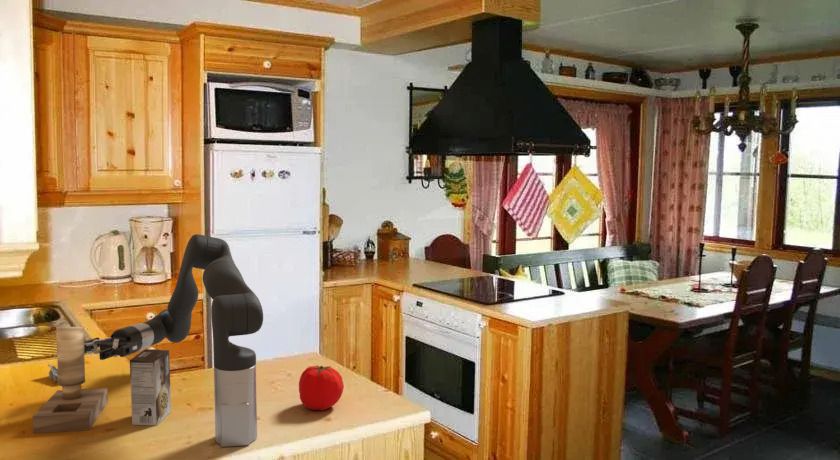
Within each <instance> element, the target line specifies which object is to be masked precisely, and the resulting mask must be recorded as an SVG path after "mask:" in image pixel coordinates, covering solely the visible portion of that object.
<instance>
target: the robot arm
mask: <svg viewBox="0 0 840 460" xmlns="http://www.w3.org/2000/svg"><path fill="white" fill-rule="evenodd" d="M182 256H183V257H182V261H181V264H180V266H179V267H180V268H179V272H178V276H177V280H176V283H175V288H174V290H173V292H172V295H171V296H170V299H169V301H168V304H167V307H166V308H165V309H163V310H161V311H160V312H159V313H157V314H156V315H155V316H154V317H152V318H151V319H149V320H146V321H144V322H141V323H134V324H131V325H128V326H124V327H122V328H118V329H116V330H114V331H113V332H112V333H111V335H110V337H105V338H102V339H101V338H100V337H94V338H91V339H87V340H84V355H86V354H90V353H94V355H95V354H99V360H101V361H104V360H107V359H110V358H112V357H113V358H116V357H118V356H119V357H120V358H124V357H127V356H130V355H132V354H136V353H137V352H140V351H141V352H142V351H143V350H145V349H148V348H149V347H152V346H154V345H157V344H160V343H161V342H163V340H164V339H165V338H166V339H167V340H168V342H171V343H173V344H175V343H176V344H177V343H180V342H182V341H184V340H185V339H186V338H187V336H188V335H189V332H190V331H191V326H192V315H193V314H192V313H193V310H194V308H195V305H197V302H198V298H199V288H198V286H197V283H196V281H195V278H194V274H193V269H194V268H195V269H199V270H204V271H203V273H202V284H203V286H204V289H205V291H206V294H207V295H208V296H209V297H210V299H212V303H211V308H210V315H211V317H210V318H211V328H212V344H213V345H212V346H213V376H214V377H213V380H214V381H213V384H214V386H213V387H214V389H213V390H214V433H215V434H214V435H215V436H214V437H215V442H216V443H217V444H219V446H220V447H221V448H226V447H238V446H239V447H241V446H242V447H243V446H250V445H251V443H252V442H254V441H255V440H257V438H258V407H257V406H258V405H257V403H258V402H257V401H258V400H257V395H258V394H257V354H256V352H255V351H254V350H253V349H252V348H249V347H245V346H243V345H242V346H240V345H237V344H235V343H232V342H231V341H230V340H229V339H230V337H236V336H237V337H238V336H247V335H252V334H256V333H257V332H259V331H260V329H262V326H263V322H264V312H263V311H264V310H263V307H262V304H261V301H260V300H259V297H258V296H257V295H256V293H255V292H254V291H253V290H252V289H251V288H250V287H249V286H248V284H247V283H246V282H245V280H244V278H243V275H242V274H241V273H242V272H241V271H240V270H239V268H238V267H237V265H236V263H235V261H234V259H233V256H232V252H231V248H230V246H229V244H228V243H227V241H226V240H224V239H222V238H219V237H218V238H217V237H213V236H208V235H205V234H198V233H197V234H196V233H195V234H193V235H191V236H190V238H189V240H188V242H187V244H186V247H185V250H184V253H183V255H182ZM98 348H99V349H98Z"/></svg>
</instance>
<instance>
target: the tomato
mask: <svg viewBox="0 0 840 460" xmlns="http://www.w3.org/2000/svg"><path fill="white" fill-rule="evenodd" d="M298 392H299V393H298V394H299V400H300V402H301V404H302V405H303V406H305V407H306V408H307V409H309V410H314V411H323V410H327V409H330V408H332V407H333V406H334V405H336V404H337V403H339V401H340V399H341V398H342V395H343V392H344V381H343V377H342V375H341V374H340V372H339V371H337V370H336V369H335V368H334V367H332V366H331V365H329V366H323V365H320V366H319V365H311V366H310V365H308V366H307V368H305V369H304V371H302V373H301V375H300V377H299V382H298Z"/></svg>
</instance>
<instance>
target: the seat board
mask: <svg viewBox="0 0 840 460" xmlns="http://www.w3.org/2000/svg"><path fill="white" fill-rule="evenodd" d="M108 391H109V390H108V387H101V388H100V387H99V388H84V389H83V388H81V397H79V398H76V399H63V394H62V389H60V390H59V389H58V390H56V391H55V392H54V393H53V394H52V395H51V397H49V399H47V400H46V402H45V403H44V404H43V405H42V406H41V407H40V408H39V410H37V411H36V413H34V415H32V425H33V426H32V427H33V434H40V433H41V434H42V433H57V432H61V433H62V432H73V431H76V432H77V431H89V430H90V429H91V428H92V427H93V425H94V424H95V423H96V421H97V420H98V418H99V417H100V416H101V414H102V412H104V409H105V408H106V406H107V405H108V404H109V397H108V396H109V392H108Z"/></svg>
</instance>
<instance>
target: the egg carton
mask: <svg viewBox="0 0 840 460" xmlns="http://www.w3.org/2000/svg"><path fill="white" fill-rule="evenodd" d="M47 367H49V368H50V370H49V371H48V375H49V379H50V380H52V379H53V382H58V368H57V367H56V366H55V365H51V364H49V363H48V364H47Z"/></svg>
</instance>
